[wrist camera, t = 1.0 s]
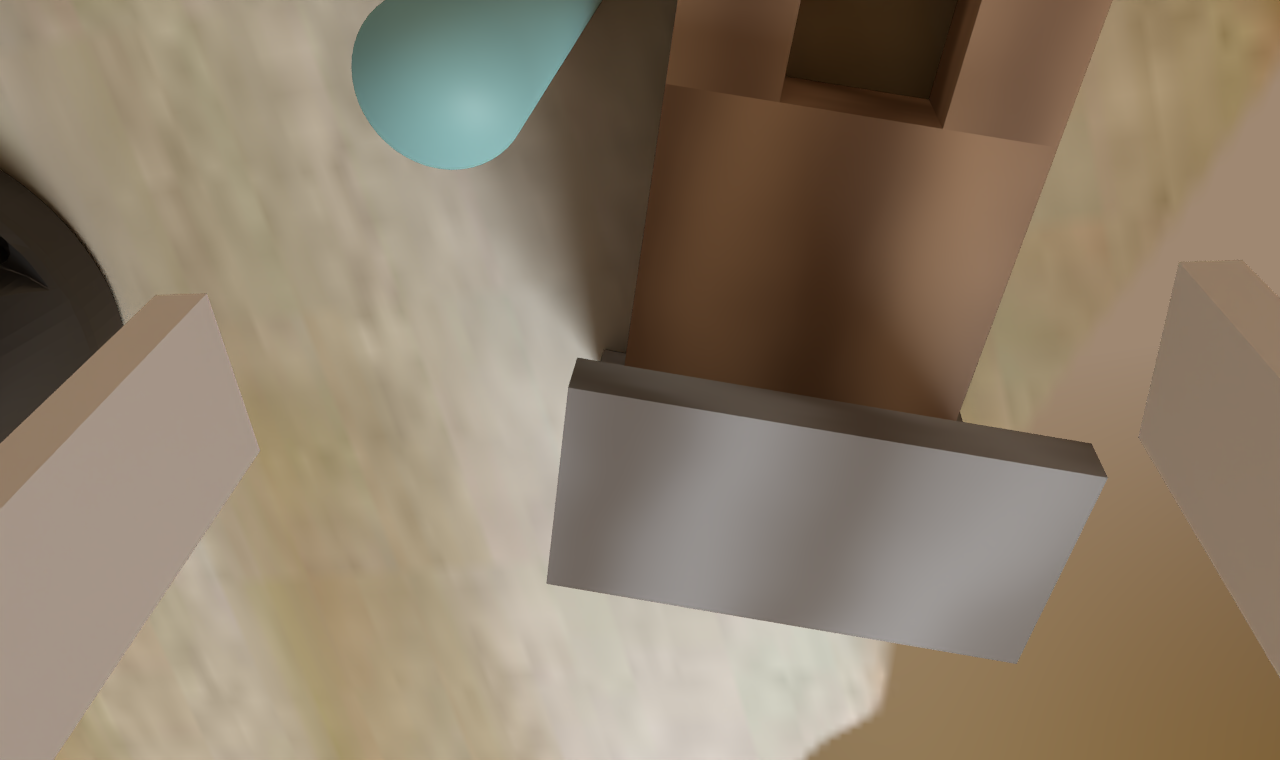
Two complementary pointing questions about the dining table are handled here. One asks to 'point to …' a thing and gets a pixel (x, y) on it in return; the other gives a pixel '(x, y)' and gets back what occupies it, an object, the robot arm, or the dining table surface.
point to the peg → (460, 72)
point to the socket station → (832, 343)
